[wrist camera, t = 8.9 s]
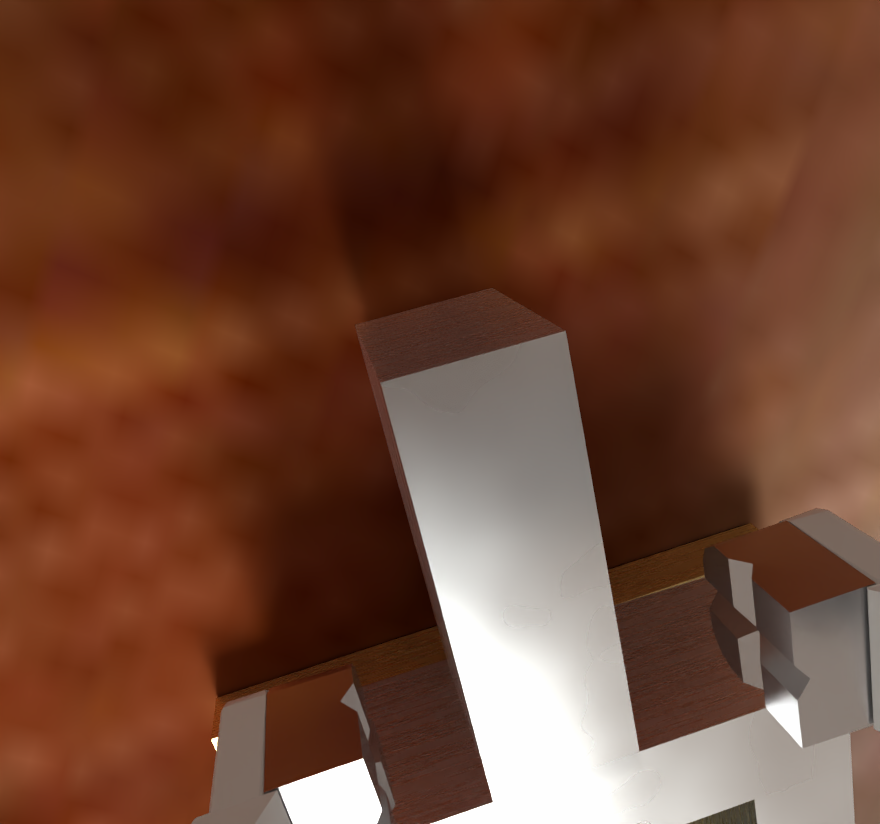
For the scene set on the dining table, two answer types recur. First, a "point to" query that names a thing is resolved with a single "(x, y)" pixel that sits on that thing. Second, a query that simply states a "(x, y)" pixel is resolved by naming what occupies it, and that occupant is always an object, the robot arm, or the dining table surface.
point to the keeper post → (428, 645)
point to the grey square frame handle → (552, 613)
